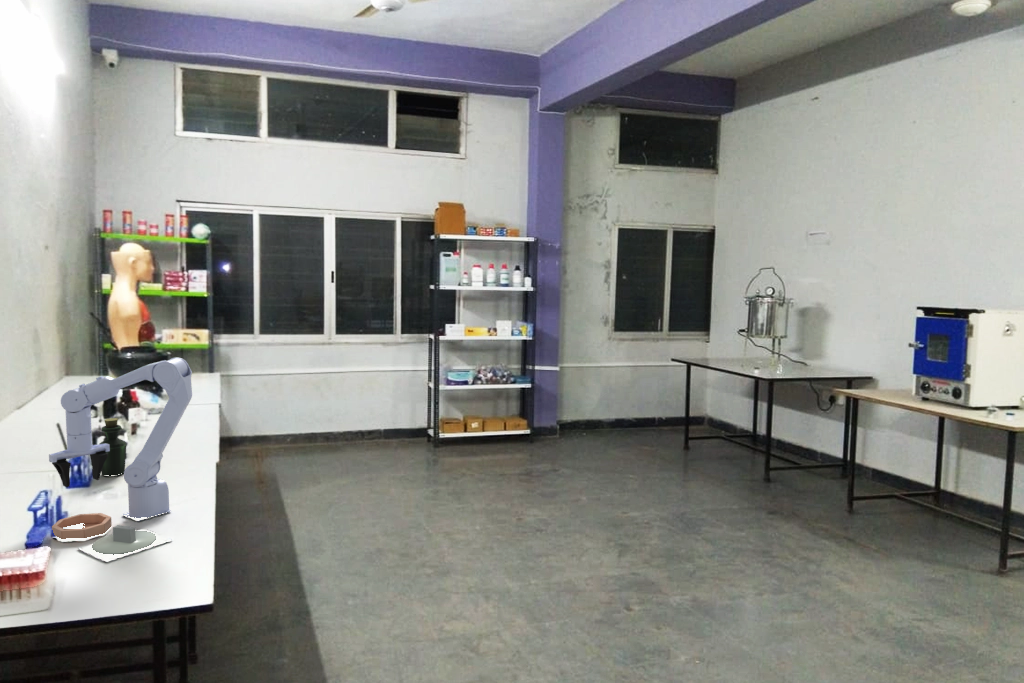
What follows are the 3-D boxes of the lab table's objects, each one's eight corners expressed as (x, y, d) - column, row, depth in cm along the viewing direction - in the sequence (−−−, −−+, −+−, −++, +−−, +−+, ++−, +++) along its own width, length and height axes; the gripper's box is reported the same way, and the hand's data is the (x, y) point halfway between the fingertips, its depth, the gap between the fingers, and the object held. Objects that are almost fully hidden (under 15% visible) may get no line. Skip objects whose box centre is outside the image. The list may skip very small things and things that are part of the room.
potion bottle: (101, 479, 224) (99, 423, 222) (96, 473, 231) (94, 418, 229) (130, 475, 230) (128, 420, 228) (124, 469, 236) (122, 415, 234)
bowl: (94, 521, 189) (94, 510, 188) (119, 531, 182) (118, 519, 182) (45, 535, 179) (44, 523, 178) (69, 546, 172) (68, 534, 172)
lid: (122, 530, 181) (121, 515, 181) (168, 536, 178) (167, 520, 178) (78, 551, 168) (77, 534, 168) (127, 557, 165) (126, 540, 165)
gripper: (99, 426, 198) (101, 473, 199) (42, 436, 186) (44, 486, 187) (112, 429, 194) (114, 478, 195) (55, 440, 182) (58, 491, 183)
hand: (81, 482), depth 191 cm, fingers open, 7 cm apart
